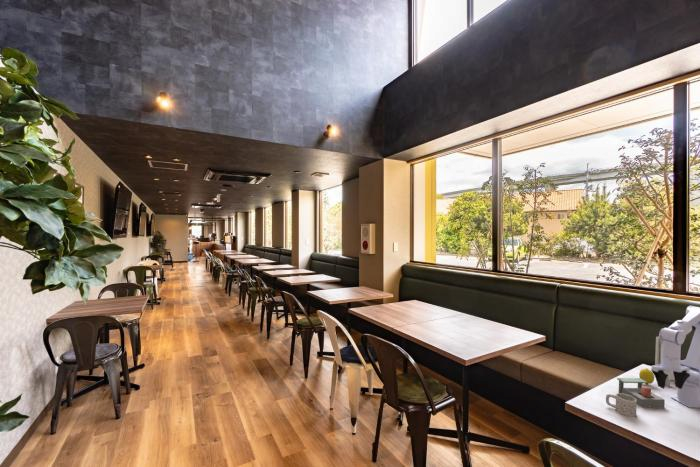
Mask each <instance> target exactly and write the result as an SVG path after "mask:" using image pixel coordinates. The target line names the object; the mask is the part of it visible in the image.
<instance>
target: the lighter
mask: <svg viewBox="0 0 700 467" xmlns="http://www.w3.org/2000/svg"><path fill="white" fill-rule="evenodd" d="M650 368H651V369H652V365H651V366H650ZM665 387H669V388H670V387H671V380H670V377H668V376H667V378H666V381H665Z"/></svg>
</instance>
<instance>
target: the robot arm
mask: <svg viewBox="0 0 700 467" xmlns="http://www.w3.org/2000/svg"><path fill="white" fill-rule="evenodd" d="M693 327H695V330H694V333H693V336H692V340H691V342H690V346H689V348H688V351H687V354H686V357H685V359H683V360H681V356H682V355H681V353H682V352H681V348H682V345H683V344H684V342H685V339H686V338H687V335H689V334H690V333H691V332H692V330H693ZM658 333H659V334H658V337H659V338H660V343H661V344H662V361H661V364H659V365H655V364H654V365H651V366H652V368H651V370H650V371H651V372H652V373H653V374H654V379H655V380H656V383H657V384H656V385H657V387H659V388H660V389H665V388H666V386H665V381H666V378H667V376H668V375H667V374H665V373H664V372H663V371H672V374H673V376H674V378H675V380H674V386H675V388H677V391H676V395H677V396H671V399H673V400H674V401H677V402H679V403H680V404H682V405H684V406H686V407H687V408H700V307H699V306H694V305H689V306H687V307H686V310H685V316H684V317H683V318H682V319H677V320H675V321H674V322H673V323H672V324H671V325H669V326H668V327H663V328H661V329H660V331H659V332H658Z"/></svg>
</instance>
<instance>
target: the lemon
mask: <svg viewBox="0 0 700 467" xmlns="http://www.w3.org/2000/svg"><path fill="white" fill-rule="evenodd" d="M638 376H639V378H640V379H642V380H644V381H646V382H647V383H644V384H645V385H649V384H653V383H654V381H655V376H654V374H653V372H652V371H651V370H650V369H648V368H642V369H641V370H640V371H639V373H638Z"/></svg>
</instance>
